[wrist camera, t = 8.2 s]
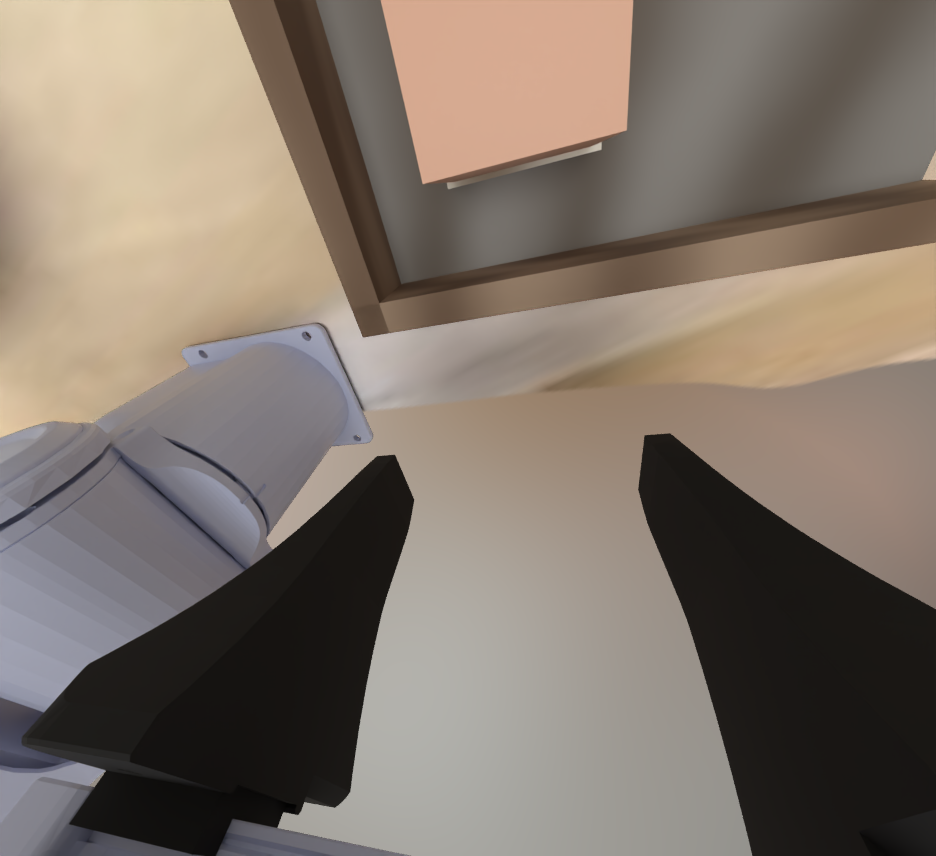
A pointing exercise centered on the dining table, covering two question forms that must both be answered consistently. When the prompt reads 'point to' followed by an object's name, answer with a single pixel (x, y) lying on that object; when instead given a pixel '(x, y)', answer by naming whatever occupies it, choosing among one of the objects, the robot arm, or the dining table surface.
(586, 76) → the cube
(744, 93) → the tray
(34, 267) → the dining table surface
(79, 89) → the dining table surface
